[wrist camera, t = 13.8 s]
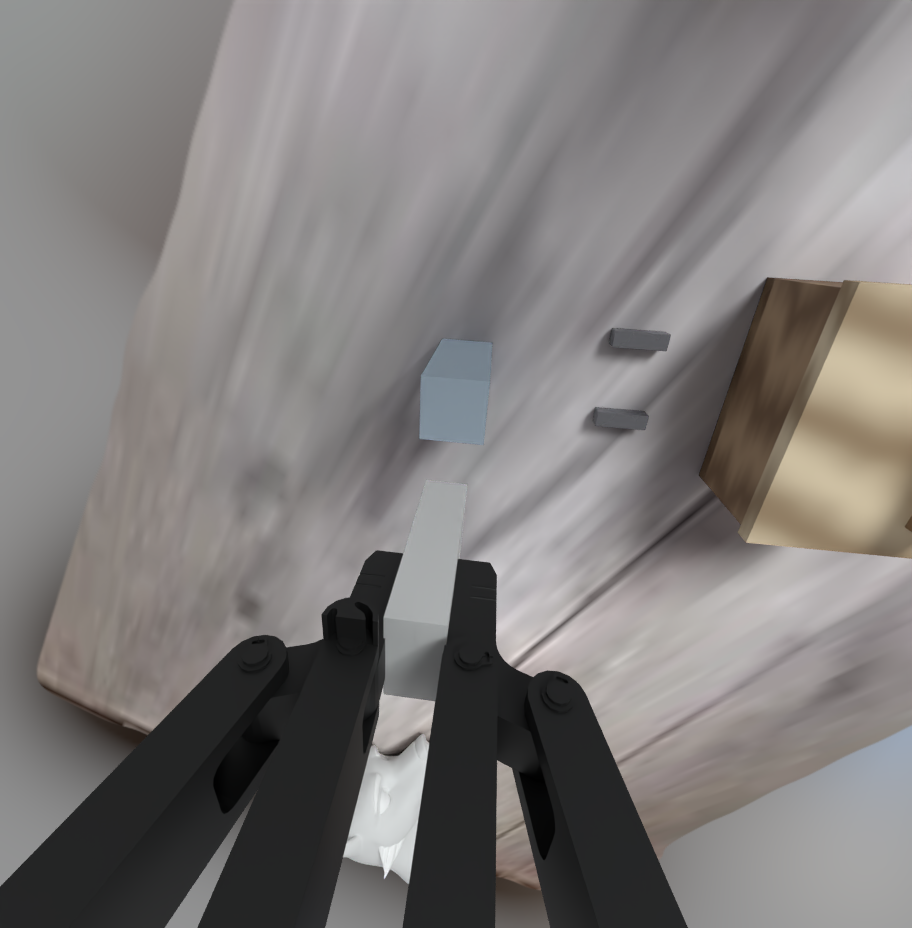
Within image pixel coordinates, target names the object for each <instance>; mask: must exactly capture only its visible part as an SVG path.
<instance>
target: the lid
mask: <svg viewBox="0 0 912 928" xmlns="http://www.w3.org/2000/svg"><path fill="white" fill-rule="evenodd" d="M738 533H739V535H740V536H741V537H742V538H743V540H744V541H745V542H746V543H755V544H765V545H776V546H786V547H797V548H807V549H817V550H828V551H838V552H849V553H859V554H869V555H880V556H890V557H901V558H911V559H912V285H910V284H895V283H880V282H864V281H849V280H844V281H843V284H842V286H841V289H840V291H839V293H838V296H837V298H836V300H835V303H834V305H833V308H832V310H831V312H830V315H829V317H828V319H827V322H826V324H825V327H824V329H823V331H822V334H821V336H820V338H819V341H818V343H817V346H816V348H815V350H814V353H813V355H812V357H811V360H810V362H809V365H808V367H807V369H806V372H805V374H804V376H803V379H802V381H801V384H800V386H799V388H798V391H797V393H796V395H795V398H794V400H793V403H792V405H791V407H790V410H789V412H788V414H787V417H786V419H785V422H784V424H783V426H782V429H781V431H780V433H779V436H778V438H777V440H776V443H775V445H774V448H773V450H772V452H771V455H770V457H769V459H768V462H767V464H766V467H765V469H764V471H763V474H762V476H761V478H760V481H759V483H758V486H757V488H756V490H755V493H754V495H753V497H752V500H751V502H750V505H749V507H748V509H747V512H746V514H745V516H744V519H743V521H742V524H741V526H740V528H739V531H738Z"/></svg>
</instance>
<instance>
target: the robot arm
mask: <svg viewBox="0 0 912 928" xmlns="http://www.w3.org/2000/svg"><path fill="white" fill-rule="evenodd" d="M466 493H467V484H460V483H451V482H442V481H433V480H426V482H425V486H424V489H423V492H422V495H421V498H420V502H419V505H418V508H417V511H416V515H415V518H414V521H413V524H412V527H411V531H410V534H409V537H408V540H407V544H406V547H405V550H404V553H394V552H386V551H378V550H377V551H375V552H374V553H373V554H372V555H371V556H370V557H369V558H368V559H366V560H365V563H364V565H363V568H362V570H361V572H360V575H359V577H358V579H357V582H356V585H355V586H354V589H353V591H352V594H351V596H350V598H344V599H341V600H338V601H336V602H334V603H332V604H331V605H329V606H328V607H327V608H326V609H325V611H324V612H323V613H322V626H323V637H324V639H322V640H319V641H317V642H315V643H311V644H307V645H300V646H294V647H287V648H286V647H285V645H284V643H283V641H281V640H280V639H278V638H277V637H275V636H269V635H261V636H254V637H251V638H249V639H247V640H244V641H242V642H241V643H239V644H238V645H237V646H236V647H234V648H233V649H232V650H231V651H230V652H229V653H228V654H227V655H226V656H225V657H224V658H223V659H222V660H221V661H220V662H219V663H218V664H217V665H216V666H215V667H214V668H213V669H212V670H211V671H210V672H209V673H208V674H207V675H206V676H205V677H204V678H203V680H202V681H201V682H200V683H199V684H198V685H197V686H196V687H195V688H194V689H193V690H192V691H191V692H190V693H189V694H188V695H187V696H186V697H185V698H184V699H183V700H182V701H181V702H180V703H179V704H178V705H177V706H176V707H175V708H174V709H173V710H172V711H171V712H170V713H169V714H168V715H167V716H166V717H165V718H164V719H163V720H162V721H161V723H160V724H159V725H158V726H157V727H156V728H155V729H154V730H153V731H152V732H151V733H150V734H149V735H148V736H147V737H146V738H145V739H144V740H143V741H142V742H141V743H140V744H139V745H138V746H137V747H136V748H135V749H134V750H133V751H132V752H131V753H130V754H129V755H128V756H127V757H126V758H125V759H124V761H123V762H122V763H120V765H119V766H118V767H117V768H116V769H115V770H114V771H113V772H112V773H111V774H110V775H109V776H108V777H107V778H106V779H105V780H104V781H103V782H102V783H101V784H100V785H99V786H98V787H97V788H96V789H95V790H94V791H93V792H92V793H91V794H90V795H89V796H88V797H87V798H86V799H85V801H83V802H82V803H81V805H80V806H79V807H78V808H77V809H76V810H75V811H74V812H73V813H72V814H71V815H70V816H69V817H68V818H67V819H66V820H65V821H64V822H63V823H62V824H61V825H60V826H59V827H58V828H57V829H56V830H55V831H54V832H53V833H52V834H51V835H50V836H49V837H48V838H47V839H46V840H45V841H44V842H43V843H42V844H41V846H40V847H39V848H38V849H37V850H36V851H35V852H34V853H33V854H32V855H31V856H30V857H29V858H28V859H27V860H26V861H25V862H24V863H23V864H22V865H21V866H20V867H19V868H18V869H17V870H16V871H15V872H14V873H13V874H12V875H11V876H10V877H9V878H8V879H7V880H6V881H5V882H4V883H3V885H1V886H0V928H165V926H166V925H167V923H168V922H169V920H170V919H171V917H172V916H173V914H174V913H175V911H176V910H177V908H178V907H179V905H180V904H181V902H182V901H183V900H184V898H185V897H186V895H187V893H188V892H189V890H190V889H191V888H192V886H193V885H194V883H195V882H196V880H197V879H198V877H199V876H200V874H201V873H202V871H203V870H204V868H205V867H206V865H207V863H208V862H209V861H210V859H211V858H212V856H213V855H214V854H215V852H216V850H217V849H218V848H219V846H220V845H221V843H222V842H223V840H224V839H225V837H226V836H227V834H228V833H229V831H230V830H231V828H232V827H233V825H234V824H235V823H236V821H237V819H238V818H239V817H240V815H241V814H242V812H243V811H244V809H245V808H246V806H247V805H248V803H249V802H250V800H251V799H252V797H253V796H254V794H255V793H256V791H257V790H258V791H257V793H256V796H255V798H254V800H253V802H252V805H251V807H250V809H249V811H248V814H247V816H246V818H245V820H244V823H243V825H242V827H241V830H240V832H239V834H238V836H237V839H236V841H235V843H234V846H233V848H232V850H231V852H230V855H229V857H228V859H227V862H226V864H225V867H224V869H223V871H222V873H221V875H220V878H219V880H218V882H217V884H216V887H215V889H214V891H213V893H212V896H211V898H210V900H209V903H208V905H207V907H206V909H205V912H204V914H203V916H202V919H201V921H200V923H199V925H198V928H325V926H326V922H327V918H328V914H329V910H330V906H331V902H332V898H333V894H334V890H335V886H336V882H337V878H338V875H339V871H340V867H341V863H342V859H343V855H344V851H345V847H346V843H347V839H348V835H349V831H350V827H351V823H352V819H353V815H354V811H355V808H356V804H357V800H358V796H359V792H360V788H361V784H362V780H363V776H364V772H365V768H366V764H367V760H368V756H369V752H370V748H371V744H372V740H373V737H374V733H375V729H376V725H377V721H378V717H379V700H380V696H381V692H382V688H383V685H384V694H386V695H394V696H401V697H408V698H416V699H423V700H431V701H435V708H434V715H433V722H432V728H431V735H430V742H429V749H428V756H427V763H426V770H425V777H424V784H423V790H422V797H421V804H420V811H419V818H418V825H417V832H416V839H415V846H414V852H413V859H412V866H411V873H410V880H409V887H408V894H407V901H406V908H405V914H404V921H403V928H495V886H496V883H495V882H496V796H497V760H498V761H500V762H502V763H503V764H505V765H507V766H509V767H511V768H512V770H513V774H514V778H515V782H516V786H517V791H518V795H519V799H520V803H521V807H522V811H523V816H524V820H525V824H526V828H527V832H528V836H529V841H530V845H531V849H532V853H533V857H534V861H535V866H536V870H537V874H538V878H539V882H540V886H541V891H542V895H543V899H544V903H545V907H546V911H547V915H548V919H549V923H550V928H688V927H687V925H686V923H685V920H684V918H683V916H682V913H681V911H680V909H679V907H678V904H677V902H676V900H675V897H674V895H673V893H672V891H671V888H670V886H669V884H668V881H667V879H666V877H665V875H664V872H663V870H662V868H661V865H660V863H659V861H658V858H657V856H656V854H655V852H654V849H653V847H652V845H651V842H650V840H649V838H648V836H647V833H646V831H645V829H644V826H643V824H642V822H641V819H640V817H639V815H638V813H637V810H636V808H635V806H634V803H633V801H632V799H631V797H630V794H629V792H628V790H627V787H626V785H625V783H624V781H623V778H622V776H621V774H620V771H619V769H618V767H617V765H616V762H615V760H614V758H613V755H612V753H611V751H610V748H609V746H608V744H607V742H606V739H605V737H604V735H603V732H602V730H601V728H600V726H599V723H598V721H597V719H596V716H595V714H594V712H593V710H592V707H591V705H590V703H589V700H588V698H587V696H586V694H585V692H584V691H583V689H582V688H581V686H580V685H579V684H578V683H577V682H576V681H575V680H574V679H572V678H571V677H570V676H568V675H565V674H563V673H561V672H557V671H544V672H541V673H538V674H537V675H536V676H534V677H531V676H529V675H527V674H525V673H522V672H520V671H518V670H516V669H514V668H513V667H511V666H510V665H509V664H508V663H506V662H505V661H504V660H503V658H502V657H501V656H500V654H499V652H498V649H497V646H496V588H497V575H496V573H495V571H494V569H493V567H492V565H491V564H490V563H488V562H479V561H471V560H462V559H460V551H461V543H462V533H463V523H464V513H465V503H466ZM258 788H259V789H258Z"/></svg>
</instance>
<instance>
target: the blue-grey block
mask: <svg viewBox="0 0 912 928" xmlns="http://www.w3.org/2000/svg"><path fill="white" fill-rule="evenodd" d="M491 358H492V343H491V342H479V341H466V340H454V339H442V340H441V342H440V344H439V346H438V347H437V349H436V351H435V352H434V354H433V356H432V358H431V359H430V361H429V363H428V364H427V366H426V368H425V370H424V371H423V373H422V375H421V391H420V429H419V439H425V440H436V441H447V442H457V443H468V444H479V445H484V436H485V426H486V416H487V406H488V396H489V386H490V373H491Z"/></svg>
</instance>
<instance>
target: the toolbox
mask: <svg viewBox="0 0 912 928" xmlns="http://www.w3.org/2000/svg"><path fill="white" fill-rule="evenodd" d="M842 284H843V282H828V281H813V280H797V279H782V278H767V280H766V283H765V286H764V289H763V292H762V295H761V298H760V301H759V303H758V306H757V309H756V312H755V315H754V318H753V321H752V324H751V326H750V329H749V332H748V335H747V338H746V341H745V344H744V347H743V350H742V352H741V355H740V358H739V361H738V364H737V367H736V370H735V373H734V375H733V378H732V381H731V384H730V387H729V390H728V393H727V396H726V398H725V401H724V404H723V407H722V410H721V413H720V416H719V419H718V421H717V424H716V427H715V430H714V433H713V436H712V439H711V442H710V444H709V447H708V450H707V453H706V456H705V459H704V462H703V465H702V467H701V470H700V473H699V476H700V477H701V478H702V479H703V481H704V482H705V483H706V484H707V485H708V487H709V488H710V489H711V490H712V491H713V492H714V494H715V495H716V496H717V497H718V498H719V499H720V501H721V502H722V503H723V504H724V505H725V507H726V508H727V509H728V510H729V511H730V512H731V514H732V515H733V516H734V517H735V518H736V519H737V521H738V522H739V523H740V524H742V521H743V519H744V516H745V514H746V512H747V509H748V507H749V505H750V502H751V500H752V497H753V495H754V493H755V490H756V488H757V486H758V483H759V481H760V478H761V476H762V474H763V471H764V469H765V467H766V464H767V462H768V459H769V457H770V455H771V452H772V450H773V448H774V445H775V443H776V440H777V438H778V436H779V433H780V431H781V429H782V426H783V424H784V422H785V419H786V417H787V414H788V412H789V410H790V407H791V405H792V403H793V400H794V398H795V395H796V393H797V391H798V388H799V386H800V384H801V381H802V379H803V376H804V374H805V372H806V369H807V367H808V365H809V362H810V360H811V357H812V355H813V353H814V350H815V348H816V346H817V343H818V341H819V338H820V336H821V334H822V331H823V329H824V327H825V324H826V322H827V319H828V317H829V315H830V312H831V310H832V308H833V305H834V303H835V300H836V298H837V296H838V293H839V291H840V289H841V286H842Z"/></svg>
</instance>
